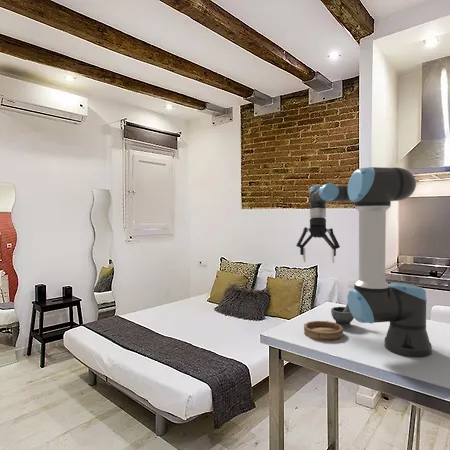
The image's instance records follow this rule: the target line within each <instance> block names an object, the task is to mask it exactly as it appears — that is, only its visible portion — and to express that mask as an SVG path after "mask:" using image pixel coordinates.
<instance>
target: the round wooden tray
mask: <svg viewBox="0 0 450 450" xmlns="http://www.w3.org/2000/svg"><path fill="white" fill-rule="evenodd" d="M303 330H304V331H303V332H304V335H305V336H306V337H308V338H309V339H313V340H316V341H323V342H325V341H327V342H328V341H329V342H330V341H337V340H340V339H342V337H343V334H344V328H343V327H342V326H341V325H339V324H337V323H336V322H332V321H327V320H314V321H313V320H312V321H308V322H306V323H304V324H303Z"/></svg>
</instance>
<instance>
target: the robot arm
mask: <svg viewBox="0 0 450 450" xmlns="http://www.w3.org/2000/svg"><path fill="white" fill-rule="evenodd" d="M416 181H417V180H416V178H415V176H414V174H413V173H412V172H411V171H409V170H408V169H405V168H403V167H402V168H401V167H383V166H382V167H379V166H377V167H374V166H373V167H369V166H368V167H360V168H358V169H355V171H353V173H352V174H351V176H350V178H349V180H348V184H347V185H343V184H342V185H339V184H338V185H336V184H334V183H331V182H329V183H326V184H323V185H314V186H310V188H309V194H308V195H309V218H310V219H309V228H308V227H303V228H302V233H301V235H300V237H299V239H298V241H297V243H296V245H295V246H296V247H298V248H299V252H300V256H301V258H302V259H301V261H302V263H306V245H307V244H308V243H309V242H310V240H312V239H313V238H319V239H321V238H322V239H323V240H324V241H325V242H326V244H328V246H329V248H331V249H329V250H330V252H329V253H330V255H329V256H330V264H334V263H335V257H336V256H337V249H339V248H340V247H341V246H340V244H339V242H338V239H337V238H336V236H335V234H334V230H333V228H332V227H331V228H327V219H326V218H327V211H326V210H327V209H326V208H327V204H328V203H334V202H335V203H336V202H337V203H341V202H343V203H345V202H350V203H351V202H352V203H354V208H355V209H356V210H357V211H358V279H357V280H356V281H354V283H353V286H354V287H353V288H352V289H350V290H349V291H348V293H347V296H346V297H347V303H348V306H349V309H350V312H351V314H352V316H353V317H354V319H355V320H356V321H357V322H358V323H361V324H374V323H389V326H388V328H387V332H386V336H385V337H384V343H383V344H384V347H385V348H386V349H387V350H388V351H390V352H392V353H393V354H394V353H395V354H397V355H402V356H406V357H413V358H419V357H422V358H423V357H428V356H430V355H431V354H432V351H433V346H432V343H431V341H430V338H429V337H430V336H429V334H428V331H427V301H428V300H427V293H426V289H424V288H423V287H421V286H418V285H414V284H410V283H403V282H391V283H388V282H387V281H386V237H387V236H386V233H387V232H386V229H387V228H386V226H387V225H386V223H387V222H386V220H387V219H386V218H387V217H386V215H387V214H386V212H387V210H389V209H390V208H391V202H399V201H402V200H405V199H408V198H409V197H411V195H413V194H414V192H415V190H416V187H417V182H416ZM308 232H309V233H310V234H309V235H308V237H307V238H306V239H305V240H304V238H305V236H306V234H307V233H308ZM326 233H327V234H328V235H329V236H330V237H328V235H327V234H326Z"/></svg>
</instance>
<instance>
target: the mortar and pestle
mask: <svg viewBox="0 0 450 450" xmlns="http://www.w3.org/2000/svg"><path fill="white" fill-rule="evenodd" d="M330 312H331V317H332V318H333V320H334V321H335V323H337V324H339V325H341V326H342V328H343V329H344V328H345V329H346V328H350V327H351V322H352V321H353V320H354V319H355V318H354V317H353V316H352V314H351V312H350V309H349V306H348V302H347V303H346V305H345V306H334V307H331V308H330Z"/></svg>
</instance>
